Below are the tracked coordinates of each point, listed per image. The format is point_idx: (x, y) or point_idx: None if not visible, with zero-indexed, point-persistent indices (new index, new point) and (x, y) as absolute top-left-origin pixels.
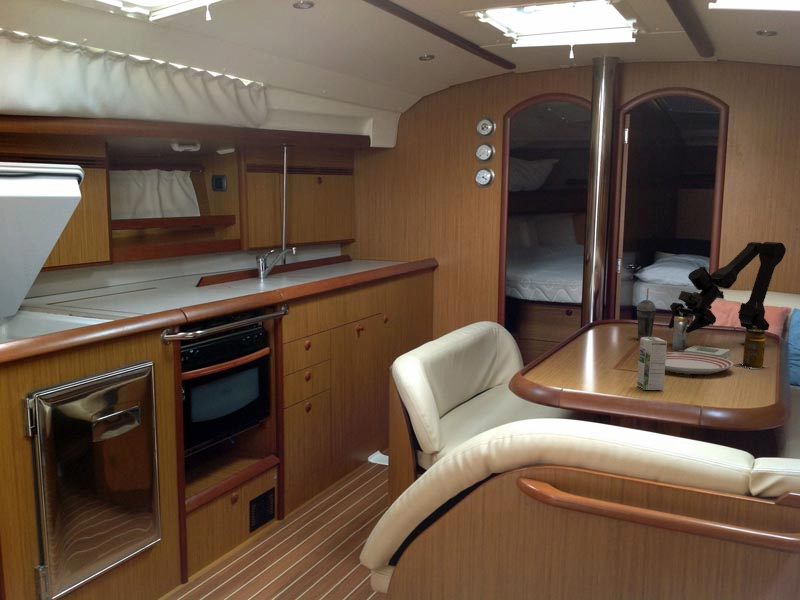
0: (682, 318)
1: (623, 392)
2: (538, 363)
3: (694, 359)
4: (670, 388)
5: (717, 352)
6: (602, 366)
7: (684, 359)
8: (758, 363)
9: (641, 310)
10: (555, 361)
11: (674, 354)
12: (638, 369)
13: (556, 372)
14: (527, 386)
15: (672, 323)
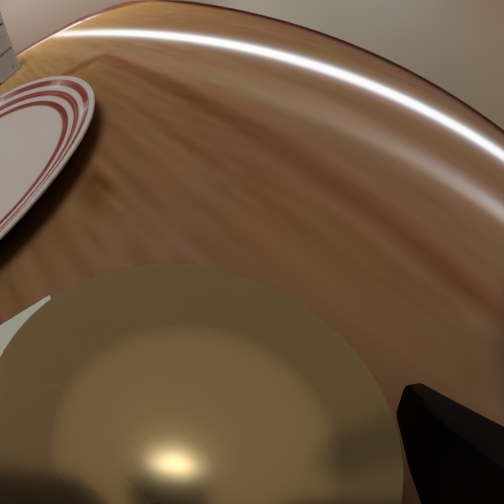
0: (12, 363)
1: (25, 55)
2: (211, 6)
3: None
4: None
5: None
6: (131, 45)
7: (4, 215)
8: None
9: None
10: (213, 15)
11: (36, 189)
12: (11, 46)
13: (145, 13)
14: (115, 5)
15: (435, 444)
